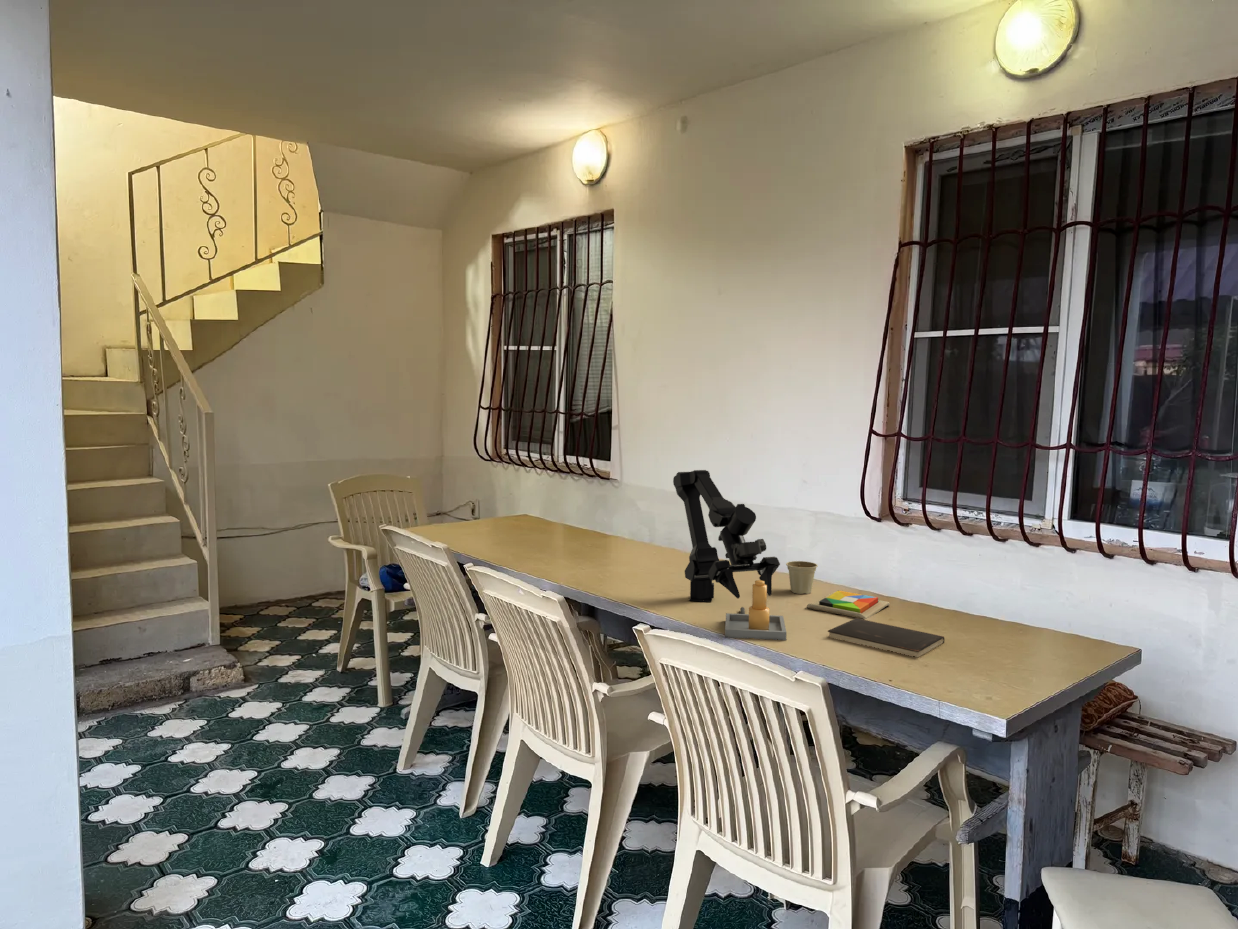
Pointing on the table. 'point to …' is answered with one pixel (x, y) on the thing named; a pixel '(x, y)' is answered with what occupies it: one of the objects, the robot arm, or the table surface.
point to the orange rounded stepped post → (759, 607)
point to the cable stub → (742, 610)
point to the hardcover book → (886, 637)
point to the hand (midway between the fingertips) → (754, 596)
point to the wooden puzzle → (849, 604)
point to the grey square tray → (739, 629)
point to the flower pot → (801, 576)
